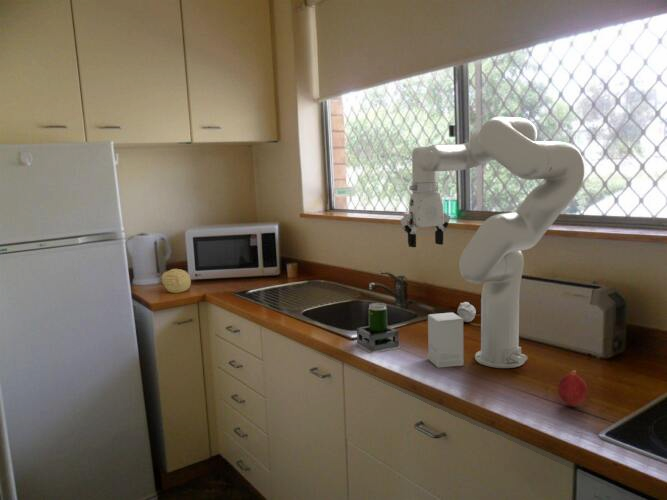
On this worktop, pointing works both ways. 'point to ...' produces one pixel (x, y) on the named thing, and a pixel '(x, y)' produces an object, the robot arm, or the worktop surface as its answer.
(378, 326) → the beer can
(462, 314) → the crumpled paper ball
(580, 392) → the onion
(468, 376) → the worktop surface
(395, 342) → the collar stand
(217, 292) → the worktop surface
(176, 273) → the pale yellow bumpy ball
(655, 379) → the worktop surface
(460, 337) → the supplement box
